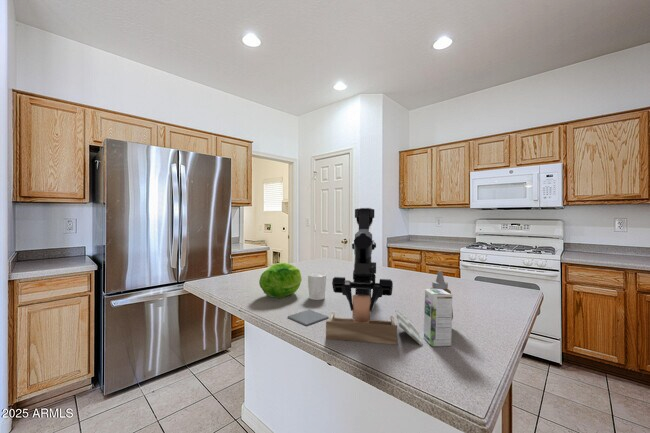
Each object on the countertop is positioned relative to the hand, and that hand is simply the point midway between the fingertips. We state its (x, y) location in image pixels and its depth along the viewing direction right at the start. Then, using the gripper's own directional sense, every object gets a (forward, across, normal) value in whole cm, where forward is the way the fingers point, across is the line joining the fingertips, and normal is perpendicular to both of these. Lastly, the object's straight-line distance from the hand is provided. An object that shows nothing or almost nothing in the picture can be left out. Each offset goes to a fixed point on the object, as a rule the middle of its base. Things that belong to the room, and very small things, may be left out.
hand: (361, 311), depth 85 cm
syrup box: (+6, +22, +4) cm, 23 cm away
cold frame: (+3, +4, +7) cm, 8 cm away
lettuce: (-19, -36, +29) cm, 50 cm away
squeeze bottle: (-2, +25, +13) cm, 28 cm away
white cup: (-19, -20, +29) cm, 40 cm away
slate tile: (-2, -18, +12) cm, 22 cm away
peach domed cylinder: (+4, 0, +6) cm, 7 cm away
